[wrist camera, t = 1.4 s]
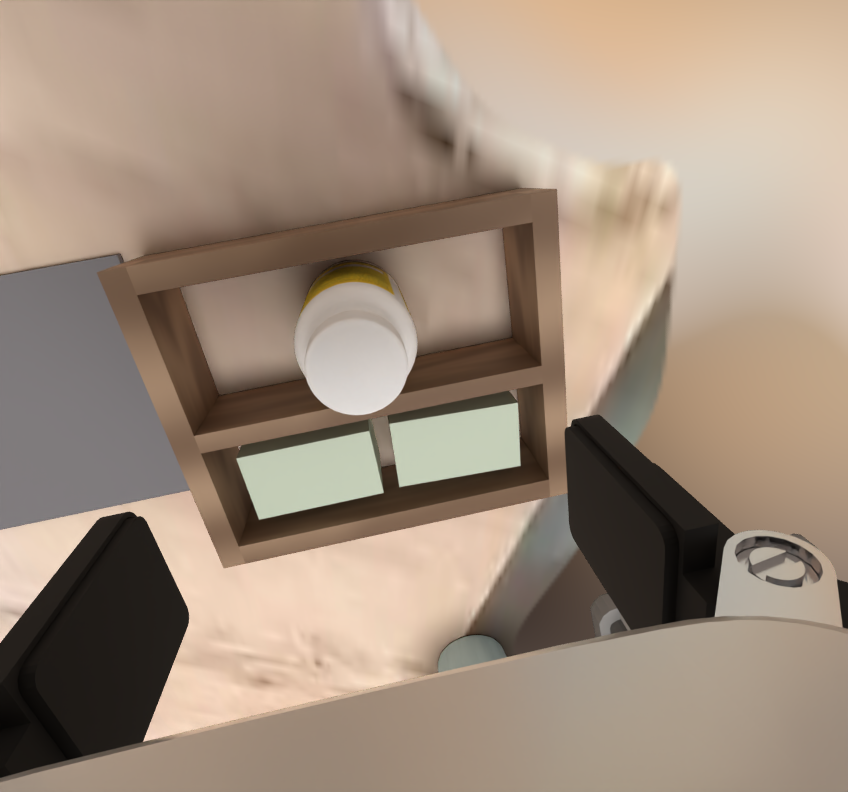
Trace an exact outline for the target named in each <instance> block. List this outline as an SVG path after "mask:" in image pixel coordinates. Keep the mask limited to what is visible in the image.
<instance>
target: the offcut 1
mask: <svg viewBox="0 0 848 792" xmlns="http://www.w3.org/2000/svg"><path fill="white" fill-rule="evenodd" d="M236 459H237V462H238V465H239V467H240V470H241V473H242V475H243V478H244V481H245V483H246V486H247V489H248V491H249V494H250V497H251V499H252V502H253V505H254V507H255V510H256V513H257V515H258V518H259V520H260V519H265V518H269V517H274V516H279V515H283V514H288V513H293V512H297V511H302V510H307V509H311V508H316V507H321V506H325V505H330V504H335V503H339V502H344V501H348V500H353V499H358V498H362V497H367V496H372V495H376V494H381V493H384V491H383V481H382V472H381V462H380V453H379V449H378V445H377V440H376V436H375V432H374V427H373V423H372V419H367V420H362V421H358V422H353V423H348V424H343V425H338V426H333V427H328V428H323V429H318V430H314V431H309V432H304V433H299V434H294V435H289V436H284V437H279V438H275V439H270V440H265V441H260V442H255V443H250V444H245V445H242V446H241V448H240V451H239V453H238V455H237V458H236Z"/></svg>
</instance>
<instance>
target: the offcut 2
mask: <svg viewBox="0 0 848 792" xmlns="http://www.w3.org/2000/svg"><path fill="white" fill-rule="evenodd" d="M388 419H389V426H390V432H391V438H392V444H393V451H394V457H395V463H396V469H397V475H398V481H399V487H403V486H409V485H414V484H420V483H426V482H431V481H437V480H443V479H449V478H454V477H460V476H466V475H471V474H477V473H483V472H488V471H494V470H500V469H505V468H511V467H517V466H521V465H520V440H519V416H518V402H517V401H516V400H515V398H514V397H513V396H512V394H511V393H510V392H509V391H504V392H499V393H494V394H489V395H485V396H480V397H475V398H470V399H465V400H460V401H455V402H450V403H445V404H441V405H436V406H431V407H426V408H421V409H416V410H411V411H406V412H402V413H397V414H392V415H388Z"/></svg>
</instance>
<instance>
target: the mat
mask: <svg viewBox="0 0 848 792" xmlns="http://www.w3.org/2000/svg"><path fill="white" fill-rule="evenodd" d="M122 263H124V262H123V259H122V257H121V254H117V255H111V256H106V257H100V258H95V259H89V260H84V261H78V262H72V263H67V264H61V265H56V266H50V267H44V268H39V269H33V270H28V271H22V272H17V273H11V274H5V275H0V530H1V529H6V528H11V527H16V526H21V525H25V524H30V523H35V522H40V521H45V520H49V519H54V518H59V517H64V516H69V515H73V514H78V513H83V512H88V511H92V510H97V509H102V508H107V507H112V506H116V505H121V504H126V503H131V502H136V501H140V500H145V499H150V498H155V497H160V496H164V495H169V494H174V493H179V492H183V491H188V490H190V489H189V486H188V484H187V482H186V479H185V477H184V475H183V472H182V470H181V468H180V465H179V463H178V461H177V458H176V456H175V454H174V451H173V449H172V447H171V444H170V442H169V440H168V437H167V435H166V433H165V431H164V428H163V426H162V424H161V421H160V419H159V417H158V414H157V412H156V410H155V407H154V405H153V403H152V400H151V398H150V396H149V393H148V391H147V389H146V386H145V384H144V382H143V379H142V377H141V375H140V372H139V370H138V368H137V365H136V363H135V361H134V359H133V356H132V354H131V352H130V349H129V347H128V345H127V342H126V340H125V338H124V335H123V333H122V331H121V328H120V326H119V324H118V321H117V319H116V317H115V314H114V312H113V310H112V307H111V305H110V303H109V300H108V298H107V296H106V293H105V291H104V289H103V286H102V284H101V282H100V280H99V277H98V275H97V273H96V272H99V271H102V270H105V269H108V268H110V267H113V266H116V265H119V264H122Z"/></svg>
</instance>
